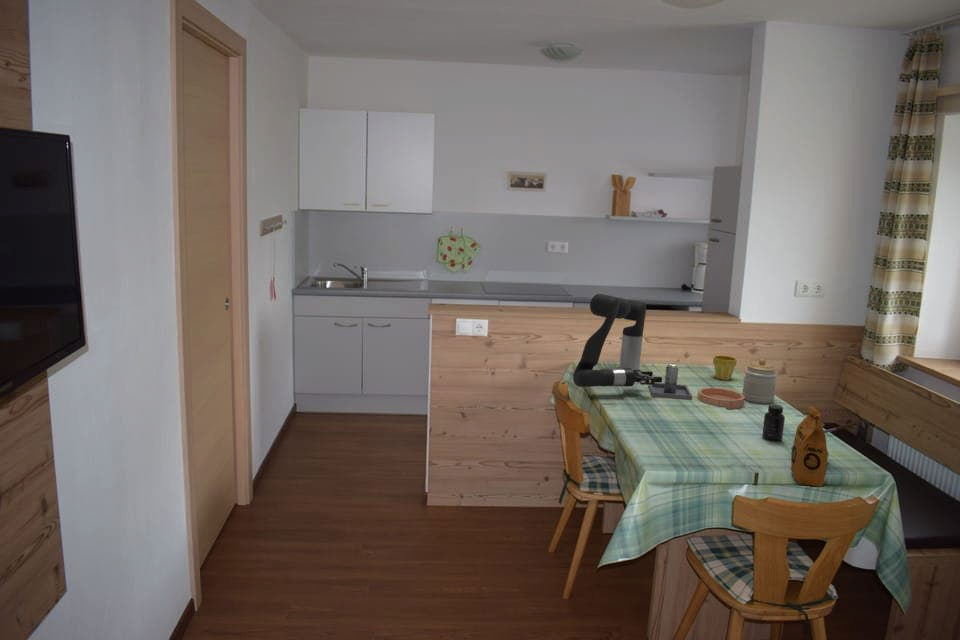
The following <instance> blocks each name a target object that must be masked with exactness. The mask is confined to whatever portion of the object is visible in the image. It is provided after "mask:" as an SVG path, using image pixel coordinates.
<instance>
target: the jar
mask: <svg viewBox="0 0 960 640" xmlns="http://www.w3.org/2000/svg"><path fill="white" fill-rule="evenodd" d="M776 371H777V368H776V367H775V366H774V365H773V364H772V363H768V362H766V359H764V358H760V359H759V360H758V361H752V362H750V363H749V364H747V368H746V369H744V373H745V376H744V377H743V385H742V391H741V394H743V396H744V397H745V401H748V402H750V403H751V402H752V403H757V404H771V402H772V403H774V400H775V392H776V385H777V381H776V378H777V376H778V373H777V372H776Z"/></svg>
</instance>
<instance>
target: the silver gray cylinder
mask: <svg viewBox="0 0 960 640" xmlns="http://www.w3.org/2000/svg"><path fill="white" fill-rule="evenodd" d="M678 375H679V367H678V365H677V364H676V363H675V364H672V363H668V364H667V366H665V374H664V383H663V384H664V393H670V394H676V387H677V385H678Z"/></svg>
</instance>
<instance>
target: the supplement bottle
mask: <svg viewBox="0 0 960 640" xmlns="http://www.w3.org/2000/svg"><path fill="white" fill-rule="evenodd" d="M767 408H768V409H767V412H765V414H764V416H763V424H762V425H763V426H762V434H761V435H762V438H763V440H764V439H765V440H766V441H770V442H781V441H782V440H783V436H784V429H785V428H784V427H785V419H786V417H785V415H784V414H783V412H784V407H783V406H782V405H779V404H769V405H768V407H767Z"/></svg>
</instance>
